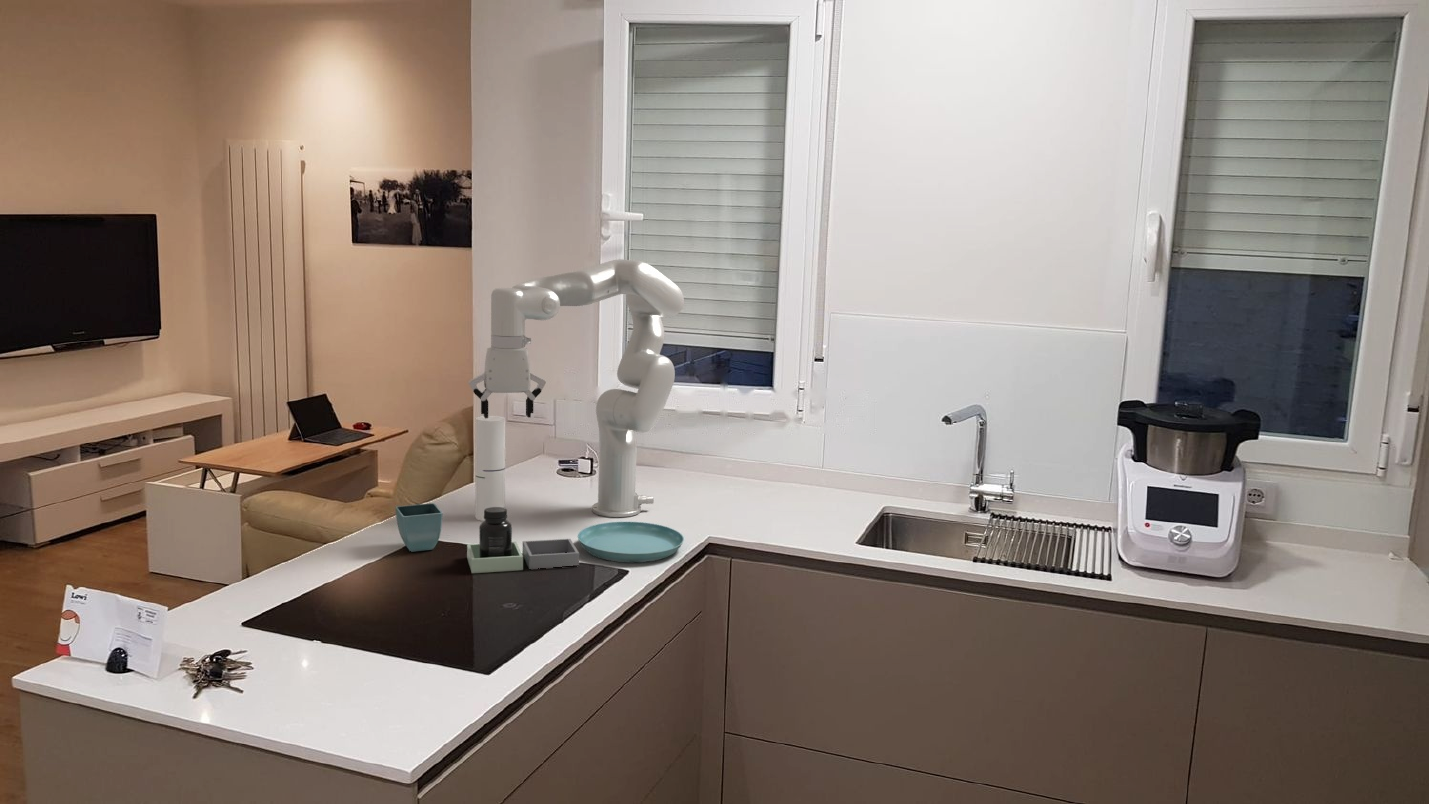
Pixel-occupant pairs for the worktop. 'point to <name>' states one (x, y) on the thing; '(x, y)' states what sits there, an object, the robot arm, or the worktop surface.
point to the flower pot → (419, 525)
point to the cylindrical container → (489, 464)
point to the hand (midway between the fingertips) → (507, 416)
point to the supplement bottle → (495, 534)
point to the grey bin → (550, 559)
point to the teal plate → (630, 541)
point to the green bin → (494, 560)
